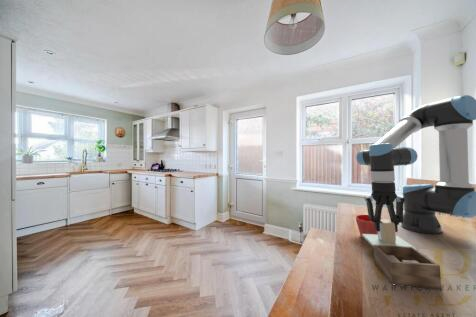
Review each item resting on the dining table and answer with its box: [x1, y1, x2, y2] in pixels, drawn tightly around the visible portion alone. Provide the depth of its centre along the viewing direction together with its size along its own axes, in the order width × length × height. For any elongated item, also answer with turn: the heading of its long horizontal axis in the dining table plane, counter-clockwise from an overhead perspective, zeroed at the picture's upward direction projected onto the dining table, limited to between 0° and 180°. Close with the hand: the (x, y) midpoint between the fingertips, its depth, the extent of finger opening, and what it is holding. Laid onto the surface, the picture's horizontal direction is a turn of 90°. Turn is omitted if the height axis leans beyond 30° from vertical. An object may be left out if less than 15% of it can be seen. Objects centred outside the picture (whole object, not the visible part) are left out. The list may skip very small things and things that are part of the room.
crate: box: [372, 245, 442, 291], centre depth 61 cm, size 12×12×7 cm
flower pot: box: [355, 214, 383, 240], centre depth 89 cm, size 11×11×10 cm
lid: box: [362, 218, 418, 250], centre depth 74 cm, size 13×13×10 cm
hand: (386, 239), depth 74 cm, fingers closed on lid, 3 cm apart
